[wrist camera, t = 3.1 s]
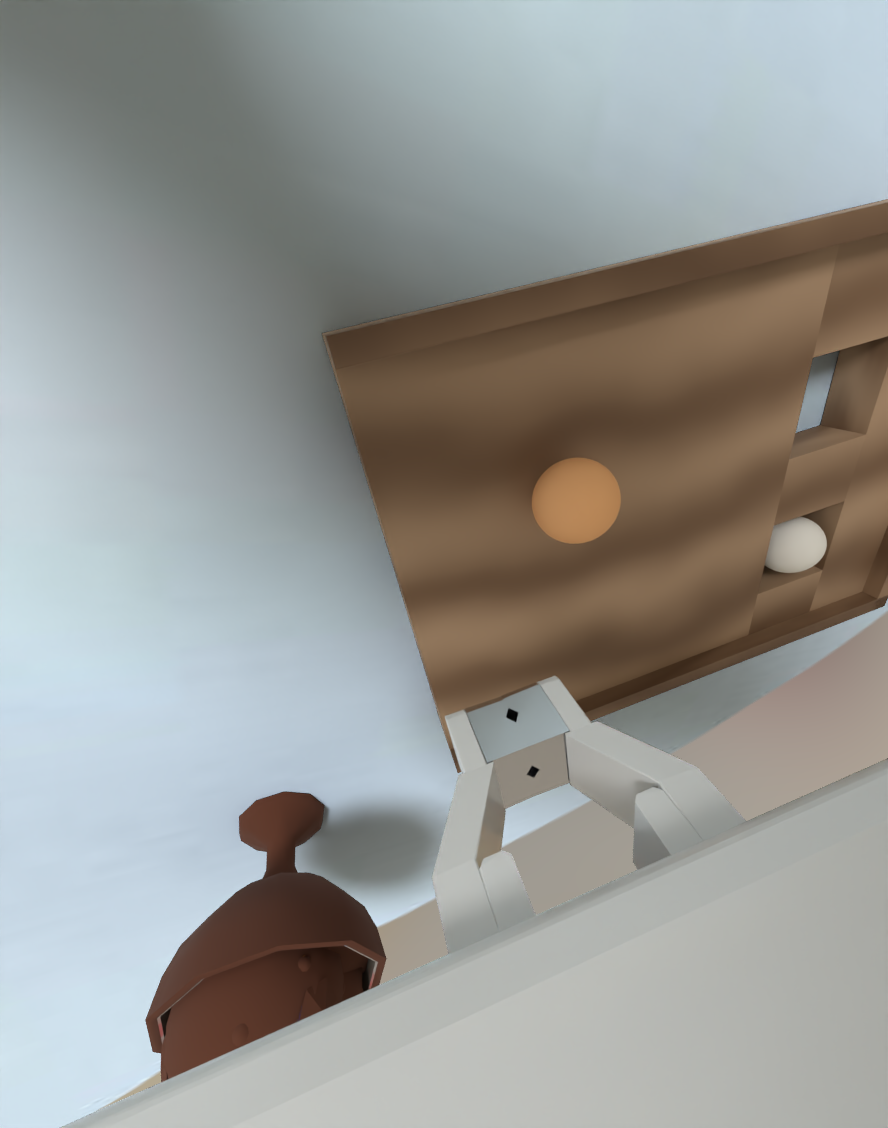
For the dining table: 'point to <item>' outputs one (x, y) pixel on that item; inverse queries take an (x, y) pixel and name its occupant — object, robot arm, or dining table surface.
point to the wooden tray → (632, 460)
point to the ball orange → (576, 500)
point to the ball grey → (795, 546)
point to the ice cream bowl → (264, 949)
